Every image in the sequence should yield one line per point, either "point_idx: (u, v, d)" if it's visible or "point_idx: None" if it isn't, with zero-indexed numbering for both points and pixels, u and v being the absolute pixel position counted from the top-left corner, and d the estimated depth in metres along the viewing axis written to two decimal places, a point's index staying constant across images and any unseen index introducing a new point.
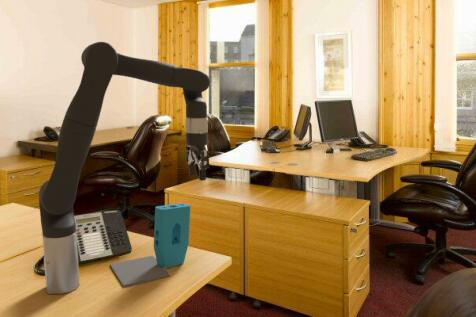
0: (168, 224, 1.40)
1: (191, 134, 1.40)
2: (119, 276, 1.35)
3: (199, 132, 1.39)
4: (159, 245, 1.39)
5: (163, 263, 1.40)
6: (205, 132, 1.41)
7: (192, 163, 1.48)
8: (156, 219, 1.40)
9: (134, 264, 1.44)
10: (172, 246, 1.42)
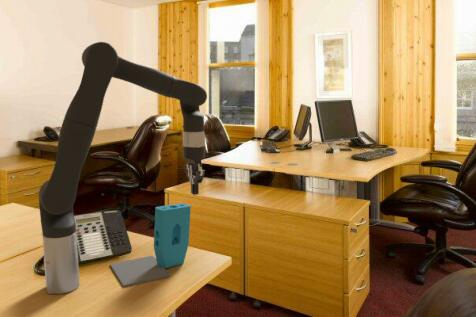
0: (169, 225, 1.39)
1: (188, 148, 1.40)
2: (119, 276, 1.35)
3: (196, 146, 1.40)
4: (159, 245, 1.39)
5: (163, 263, 1.40)
6: (202, 146, 1.41)
7: None
8: (156, 219, 1.39)
9: (134, 264, 1.44)
10: (172, 246, 1.42)
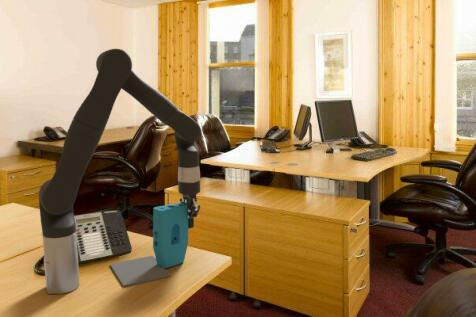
0: (167, 225, 1.39)
1: (183, 183, 1.41)
2: (119, 276, 1.35)
3: (191, 181, 1.41)
4: (158, 246, 1.39)
5: (162, 263, 1.40)
6: (197, 181, 1.42)
7: None
8: (155, 220, 1.39)
9: (134, 264, 1.44)
10: (171, 246, 1.41)
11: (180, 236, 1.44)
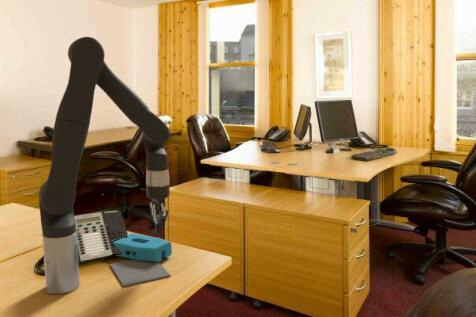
0: (125, 241, 1.52)
1: (151, 187, 1.35)
2: (119, 276, 1.35)
3: (159, 185, 1.35)
4: (134, 249, 1.46)
5: (150, 250, 1.44)
6: (166, 185, 1.37)
7: None
8: None
9: (134, 264, 1.44)
10: (145, 243, 1.49)
11: (146, 239, 1.54)
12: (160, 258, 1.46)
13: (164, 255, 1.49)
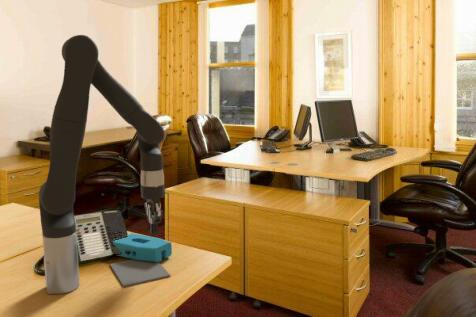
0: (125, 241, 1.52)
1: (146, 187, 1.34)
2: (119, 276, 1.35)
3: (154, 185, 1.34)
4: (134, 249, 1.46)
5: (151, 250, 1.44)
6: (161, 185, 1.36)
7: None
8: None
9: (134, 264, 1.44)
10: (145, 243, 1.49)
11: (146, 239, 1.54)
12: (160, 258, 1.46)
13: (164, 255, 1.49)
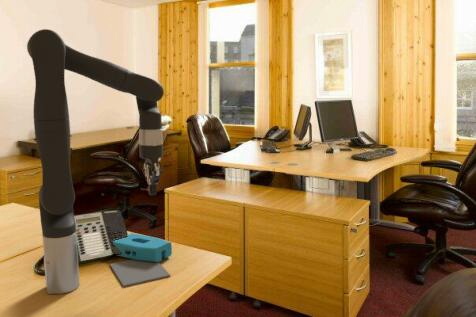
0: (125, 241, 1.52)
1: (144, 146, 1.33)
2: (119, 276, 1.35)
3: (152, 144, 1.32)
4: (134, 249, 1.46)
5: (151, 250, 1.44)
6: (159, 144, 1.34)
7: None
8: None
9: (134, 264, 1.44)
10: (145, 243, 1.49)
11: (146, 239, 1.54)
12: (160, 258, 1.46)
13: (164, 255, 1.49)
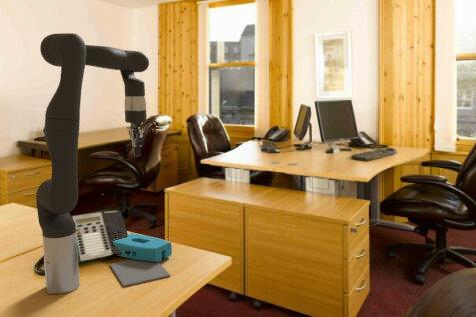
0: (125, 241, 1.52)
1: (129, 111, 1.48)
2: (119, 276, 1.35)
3: (136, 109, 1.48)
4: (134, 249, 1.46)
5: (151, 250, 1.44)
6: (143, 110, 1.49)
7: None
8: None
9: (134, 264, 1.44)
10: (145, 243, 1.49)
11: (146, 239, 1.54)
12: (160, 258, 1.46)
13: (164, 255, 1.49)
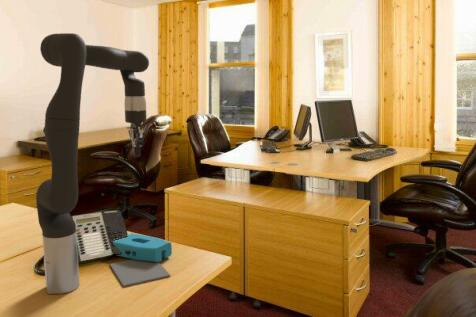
0: (125, 241, 1.52)
1: (129, 111, 1.48)
2: (119, 276, 1.35)
3: (136, 110, 1.48)
4: (134, 249, 1.46)
5: (151, 250, 1.44)
6: (143, 110, 1.50)
7: None
8: None
9: (134, 264, 1.44)
10: (145, 243, 1.49)
11: (146, 239, 1.54)
12: (160, 258, 1.46)
13: (164, 255, 1.49)
